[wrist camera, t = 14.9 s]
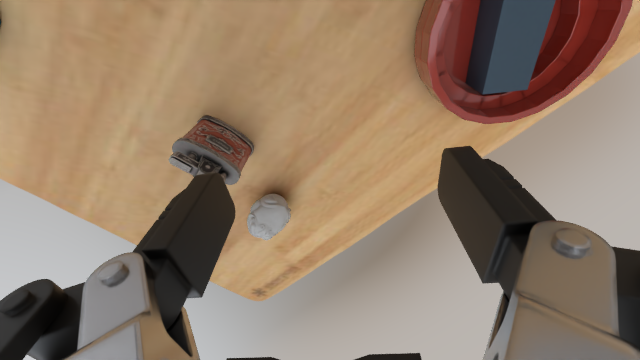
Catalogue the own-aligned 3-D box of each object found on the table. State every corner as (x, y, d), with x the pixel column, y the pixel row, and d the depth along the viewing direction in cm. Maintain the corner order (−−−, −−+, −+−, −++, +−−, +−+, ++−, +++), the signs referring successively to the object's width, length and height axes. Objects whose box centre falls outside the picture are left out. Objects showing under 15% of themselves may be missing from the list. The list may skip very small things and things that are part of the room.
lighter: (258, 143, 37) (237, 184, 29) (247, 159, 39) (225, 202, 31) (205, 109, 35) (165, 144, 27) (195, 128, 36) (156, 167, 28)
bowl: (420, -58, 25) (440, -70, 20) (616, -90, 23) (685, -111, 18) (408, 112, 34) (420, 130, 30) (547, 98, 32) (582, 115, 28)
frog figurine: (246, 200, 43) (233, 231, 38) (274, 177, 41) (264, 206, 35) (273, 220, 46) (265, 252, 40) (302, 200, 43) (297, 231, 37)
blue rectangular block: (484, -23, 26) (509, -26, 22) (533, -30, 25) (566, -35, 21) (465, 83, 31) (482, 94, 28) (504, 79, 31) (527, 90, 27)
